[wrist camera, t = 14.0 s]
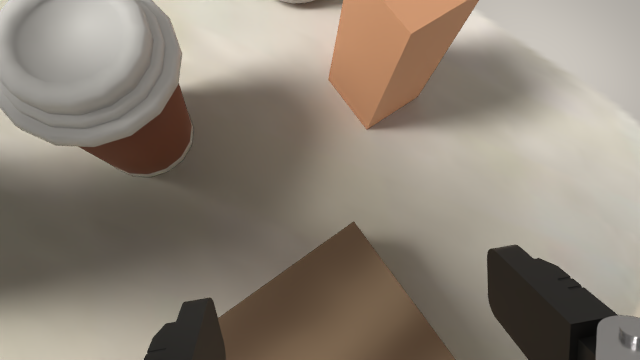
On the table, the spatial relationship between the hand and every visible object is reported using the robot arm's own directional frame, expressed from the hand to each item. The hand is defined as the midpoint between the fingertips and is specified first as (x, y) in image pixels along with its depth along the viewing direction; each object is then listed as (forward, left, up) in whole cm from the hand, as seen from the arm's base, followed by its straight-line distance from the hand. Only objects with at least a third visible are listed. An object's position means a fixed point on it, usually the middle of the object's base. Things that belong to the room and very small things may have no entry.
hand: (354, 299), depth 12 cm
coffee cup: (-17, -3, -17) cm, 24 cm away
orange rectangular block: (-10, +13, -17) cm, 24 cm away
